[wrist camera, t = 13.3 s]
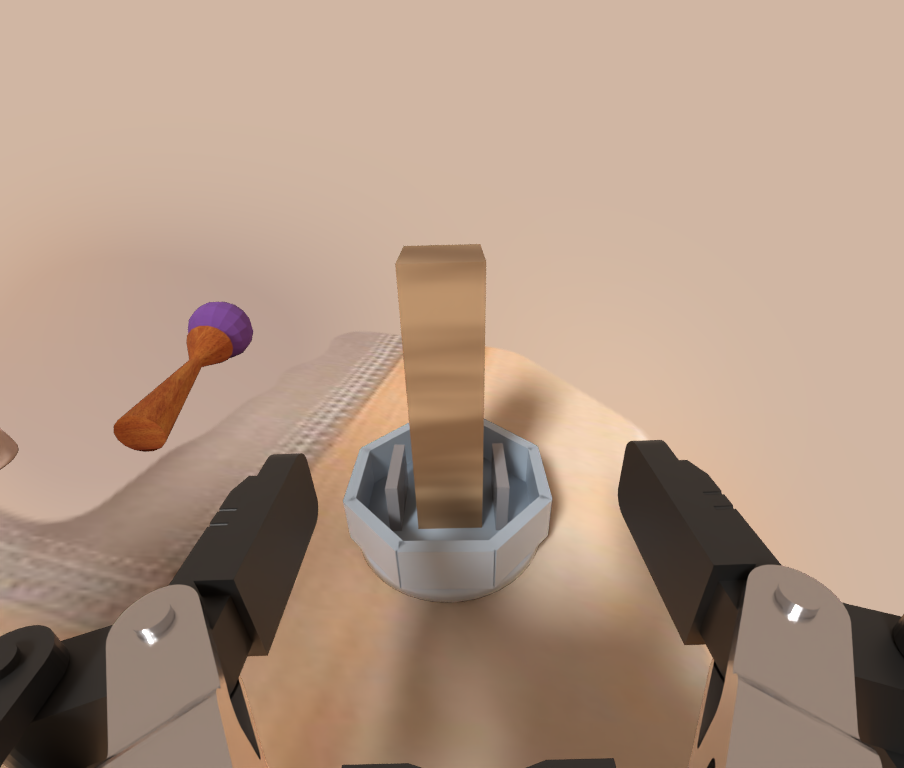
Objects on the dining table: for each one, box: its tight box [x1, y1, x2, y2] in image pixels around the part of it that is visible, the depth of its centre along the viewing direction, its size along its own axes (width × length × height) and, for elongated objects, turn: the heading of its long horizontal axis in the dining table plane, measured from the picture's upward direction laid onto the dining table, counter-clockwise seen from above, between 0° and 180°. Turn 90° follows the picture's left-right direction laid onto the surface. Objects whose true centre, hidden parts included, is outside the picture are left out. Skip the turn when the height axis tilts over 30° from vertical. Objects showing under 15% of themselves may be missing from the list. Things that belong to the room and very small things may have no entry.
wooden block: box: [395, 244, 486, 529], centre depth 21 cm, size 3×3×14 cm
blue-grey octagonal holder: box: [343, 419, 552, 602], centre depth 23 cm, size 10×10×4 cm
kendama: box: [114, 302, 253, 452], centre depth 39 cm, size 6×6×20 cm
